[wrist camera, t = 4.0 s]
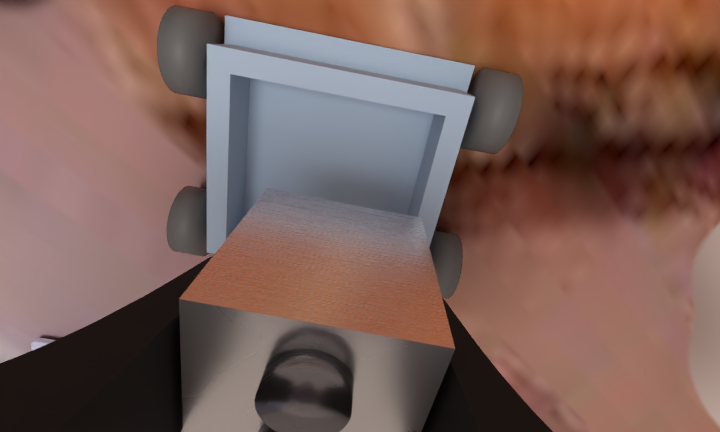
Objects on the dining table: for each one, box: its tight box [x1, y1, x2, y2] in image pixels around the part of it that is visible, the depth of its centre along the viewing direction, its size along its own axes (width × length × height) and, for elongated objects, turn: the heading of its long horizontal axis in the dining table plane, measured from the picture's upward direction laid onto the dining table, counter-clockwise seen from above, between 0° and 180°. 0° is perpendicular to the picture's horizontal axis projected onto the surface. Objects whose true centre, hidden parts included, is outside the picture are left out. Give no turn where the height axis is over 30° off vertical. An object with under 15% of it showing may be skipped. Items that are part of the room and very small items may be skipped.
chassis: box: [157, 5, 523, 298], centre depth 15 cm, size 10×12×3 cm
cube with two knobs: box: [179, 188, 455, 432], centre depth 9 cm, size 4×4×6 cm
